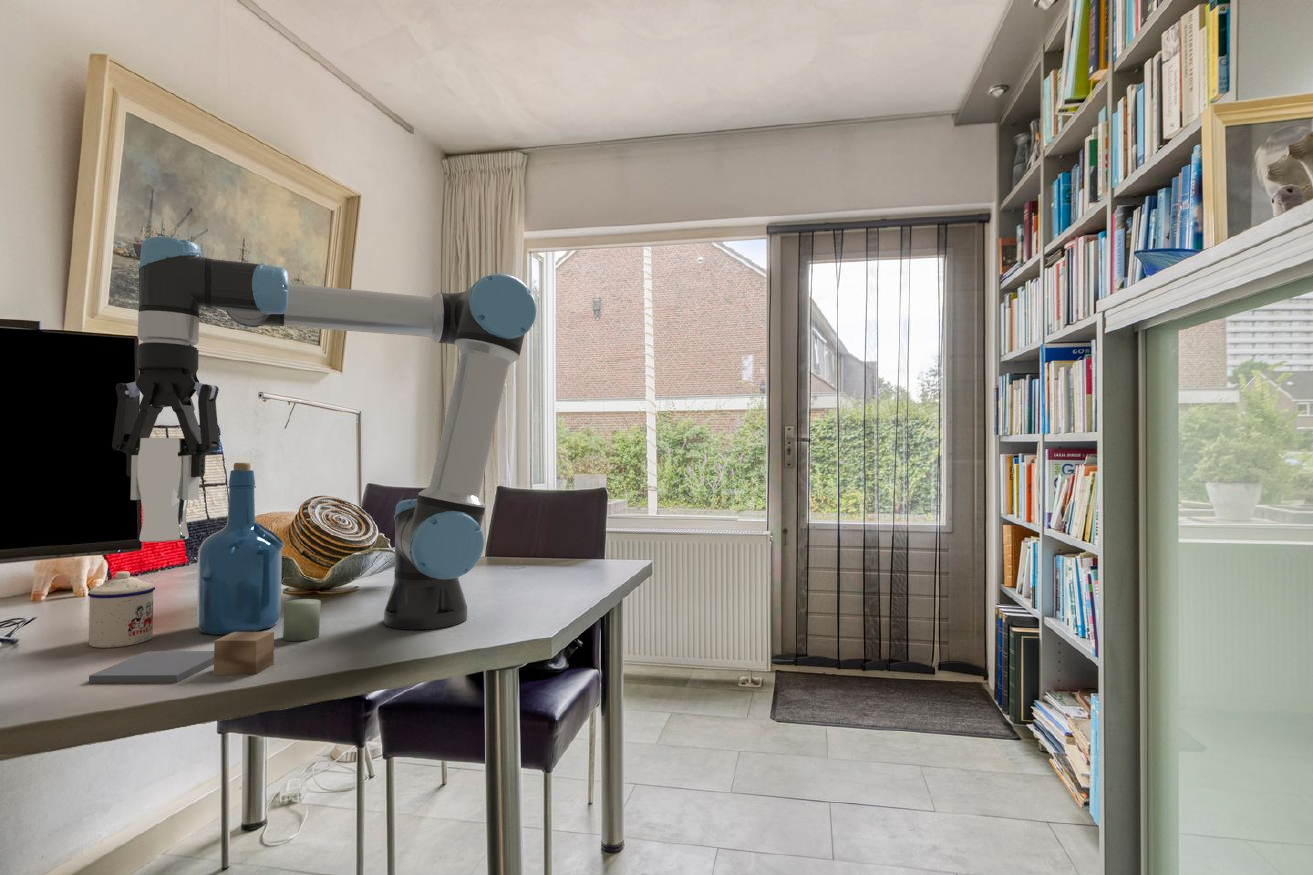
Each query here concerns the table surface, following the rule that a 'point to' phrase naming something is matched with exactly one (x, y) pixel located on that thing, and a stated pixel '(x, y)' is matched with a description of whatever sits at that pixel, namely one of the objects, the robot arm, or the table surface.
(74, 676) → the table surface
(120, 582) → the teacup with lid
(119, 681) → the charcoal mat
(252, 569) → the wine bottle
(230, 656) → the walnut block
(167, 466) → the beer glass
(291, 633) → the pale green rounded cube
